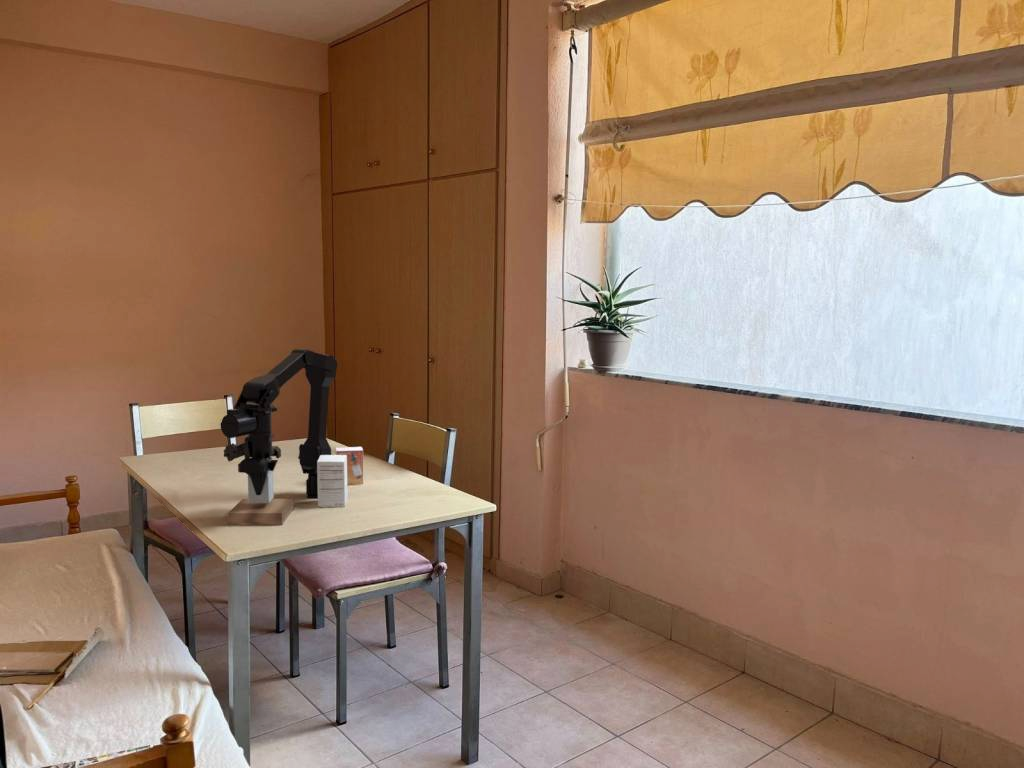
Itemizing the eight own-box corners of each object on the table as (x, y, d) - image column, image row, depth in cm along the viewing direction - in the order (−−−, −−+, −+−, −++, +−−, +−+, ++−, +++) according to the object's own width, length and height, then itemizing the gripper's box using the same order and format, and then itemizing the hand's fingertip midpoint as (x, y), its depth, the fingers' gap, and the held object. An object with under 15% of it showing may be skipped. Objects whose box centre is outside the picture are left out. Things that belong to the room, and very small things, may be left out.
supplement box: (320, 499, 216) (320, 454, 214) (348, 499, 217) (347, 454, 215) (317, 507, 209) (316, 461, 207) (345, 507, 210) (344, 461, 208)
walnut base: (293, 509, 206) (293, 498, 206) (282, 524, 194) (281, 513, 193) (242, 510, 206) (242, 498, 205) (228, 525, 193) (227, 513, 192)
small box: (336, 486, 232) (335, 450, 230) (335, 481, 237) (334, 447, 236) (363, 484, 234) (363, 449, 232) (362, 480, 239) (361, 446, 238)
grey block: (273, 497, 202) (273, 470, 201) (268, 502, 197) (268, 475, 196) (253, 497, 201) (253, 470, 200) (248, 502, 196) (247, 475, 196)
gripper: (237, 424, 206) (239, 483, 208) (215, 438, 187) (217, 502, 189) (280, 424, 206) (282, 483, 208) (262, 438, 188) (264, 502, 190)
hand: (261, 492), depth 199 cm, fingers closed on grey block, 5 cm apart
